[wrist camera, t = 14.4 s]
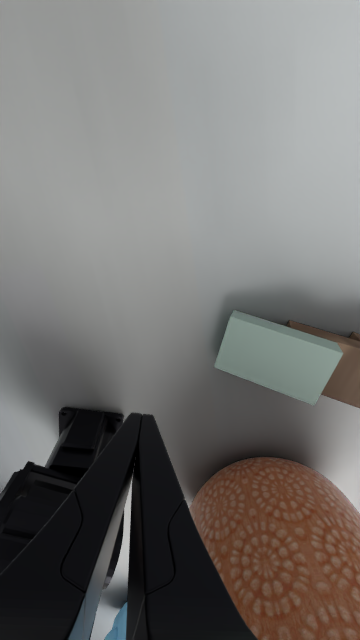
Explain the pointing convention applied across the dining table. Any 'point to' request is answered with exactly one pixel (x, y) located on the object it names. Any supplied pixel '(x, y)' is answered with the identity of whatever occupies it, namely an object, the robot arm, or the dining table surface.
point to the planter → (283, 548)
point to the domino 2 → (340, 366)
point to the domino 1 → (277, 357)
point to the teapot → (119, 626)
